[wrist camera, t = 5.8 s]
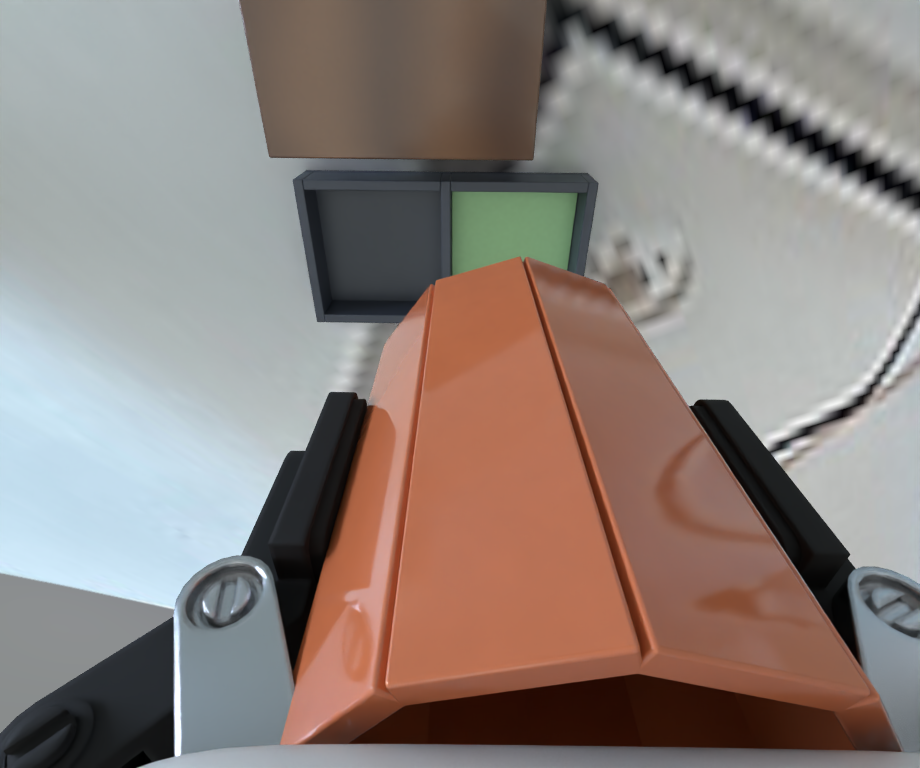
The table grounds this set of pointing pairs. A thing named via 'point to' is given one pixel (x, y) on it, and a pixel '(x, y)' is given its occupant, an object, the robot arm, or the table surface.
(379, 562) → the cup
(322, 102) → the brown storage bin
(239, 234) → the table surface
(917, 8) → the table surface
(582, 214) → the divided tray
